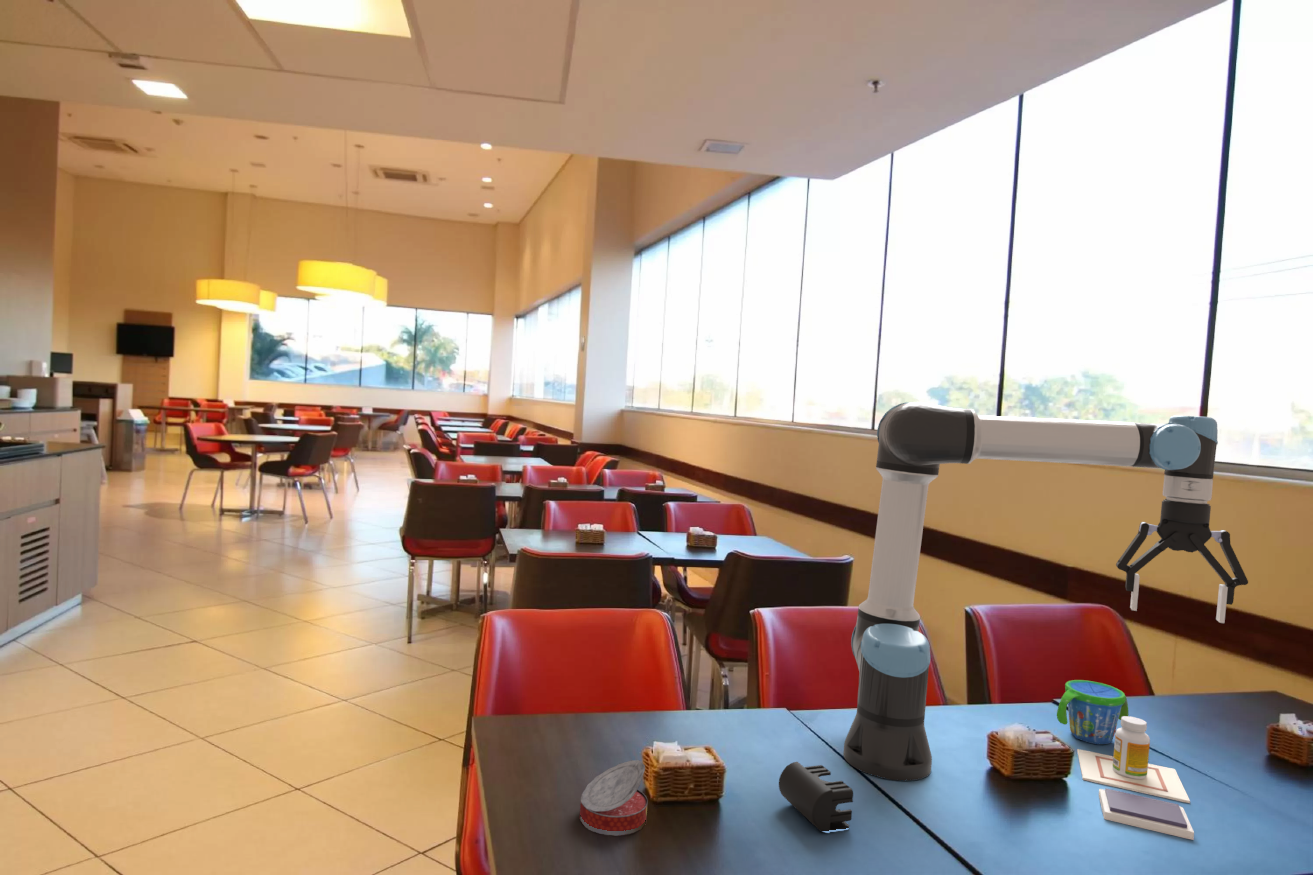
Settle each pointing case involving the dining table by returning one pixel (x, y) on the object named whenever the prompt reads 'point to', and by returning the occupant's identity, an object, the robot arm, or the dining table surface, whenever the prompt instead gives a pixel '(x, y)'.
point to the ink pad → (1145, 813)
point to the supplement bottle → (1131, 748)
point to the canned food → (615, 798)
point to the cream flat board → (1155, 783)
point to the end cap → (816, 795)
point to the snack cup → (1092, 710)
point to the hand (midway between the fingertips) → (1175, 615)
